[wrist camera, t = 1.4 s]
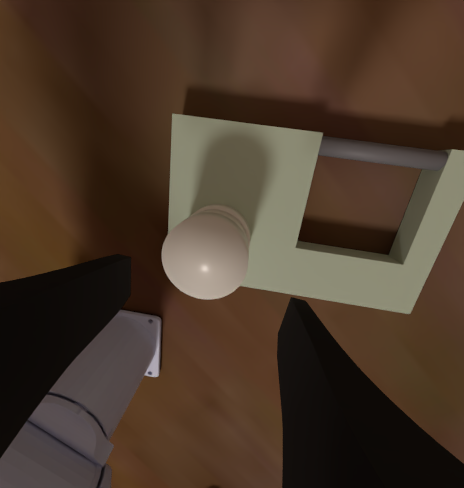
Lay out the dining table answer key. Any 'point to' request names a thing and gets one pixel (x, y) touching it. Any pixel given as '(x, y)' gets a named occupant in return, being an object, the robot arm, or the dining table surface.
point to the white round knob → (208, 252)
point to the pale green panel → (294, 201)
